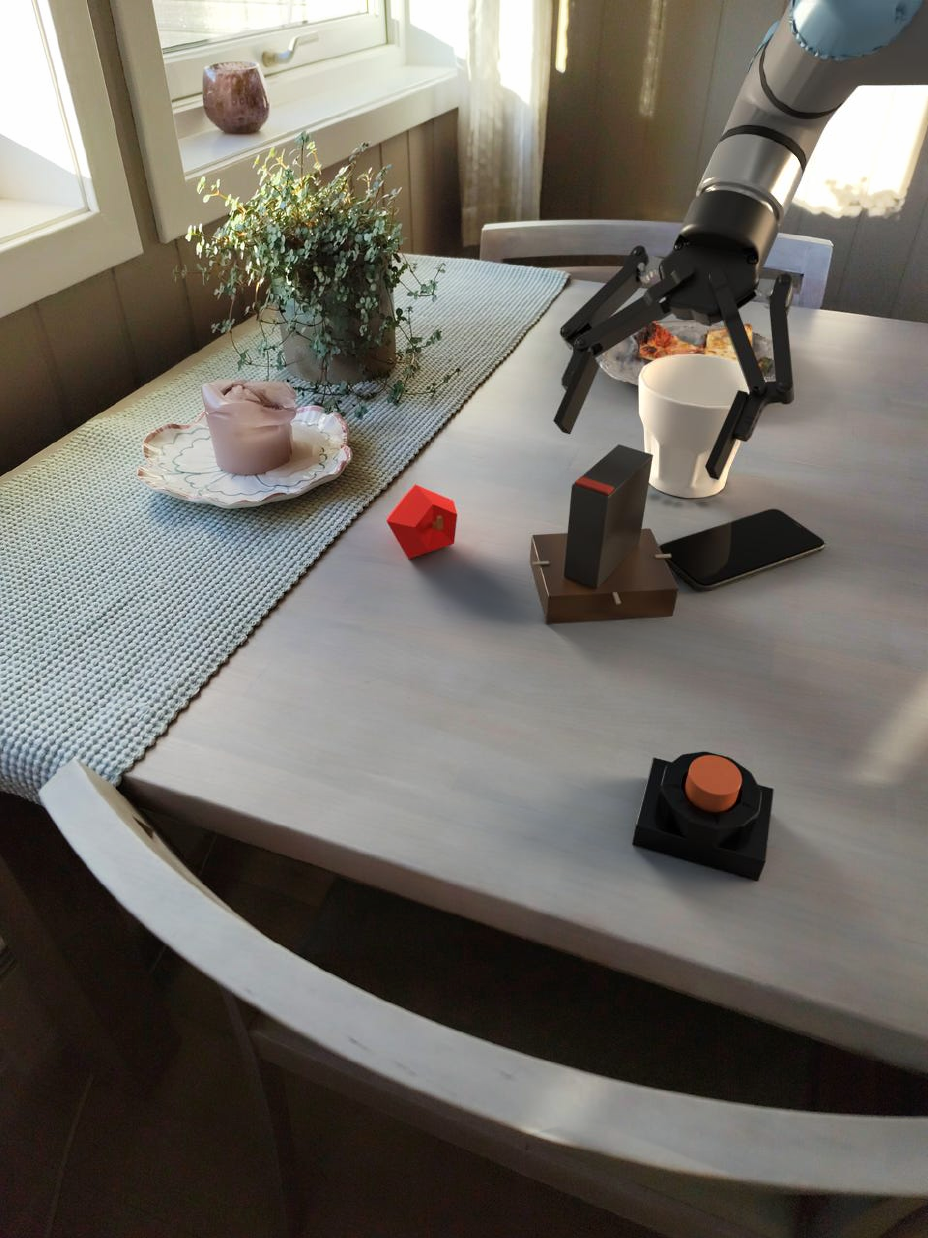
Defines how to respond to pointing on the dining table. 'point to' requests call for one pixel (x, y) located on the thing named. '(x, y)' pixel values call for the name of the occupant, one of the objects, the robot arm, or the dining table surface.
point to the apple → (423, 522)
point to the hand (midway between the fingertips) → (633, 450)
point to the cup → (687, 419)
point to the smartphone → (740, 549)
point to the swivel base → (603, 584)
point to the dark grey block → (606, 515)
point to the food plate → (680, 348)
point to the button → (713, 783)
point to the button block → (704, 821)
